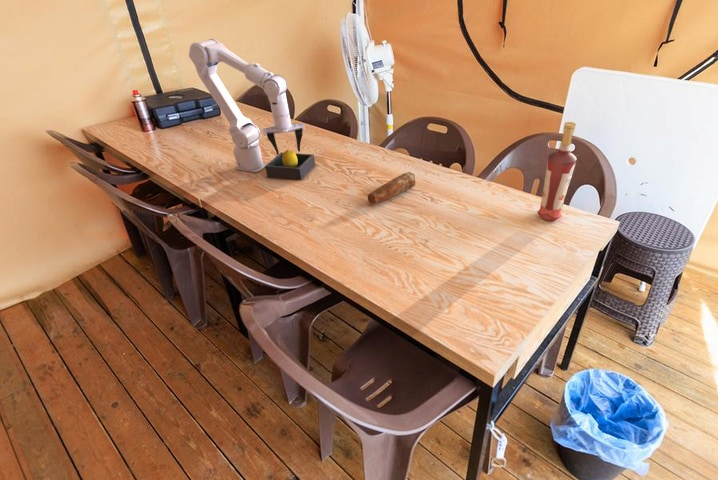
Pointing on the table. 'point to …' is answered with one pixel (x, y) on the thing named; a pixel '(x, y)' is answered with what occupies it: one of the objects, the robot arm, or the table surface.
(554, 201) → the liquor
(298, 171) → the bin
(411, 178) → the brown cylinder
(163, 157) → the table surface
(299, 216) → the table surface
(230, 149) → the table surface
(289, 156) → the lemon
